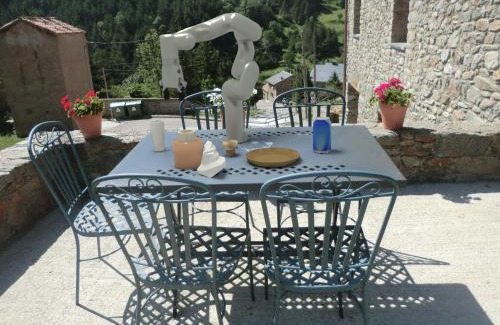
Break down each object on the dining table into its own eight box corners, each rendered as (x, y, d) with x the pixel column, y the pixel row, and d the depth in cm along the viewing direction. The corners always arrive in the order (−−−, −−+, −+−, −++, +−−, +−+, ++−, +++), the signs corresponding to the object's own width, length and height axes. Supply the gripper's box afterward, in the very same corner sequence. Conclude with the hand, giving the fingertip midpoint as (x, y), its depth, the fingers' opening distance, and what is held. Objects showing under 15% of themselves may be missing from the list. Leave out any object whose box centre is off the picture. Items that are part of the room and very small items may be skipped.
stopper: (235, 152, 204) (234, 139, 202) (240, 156, 197) (239, 142, 195) (221, 154, 201) (220, 141, 199) (225, 158, 195) (225, 144, 193)
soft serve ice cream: (194, 182, 170) (184, 148, 168) (206, 173, 184) (196, 141, 182) (223, 175, 167) (213, 140, 165) (232, 166, 181) (223, 134, 179)
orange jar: (199, 158, 196) (197, 126, 191) (207, 166, 184) (205, 132, 180) (171, 162, 192) (168, 130, 187) (177, 170, 180) (174, 136, 175)
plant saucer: (286, 151, 204) (285, 144, 203) (309, 164, 182) (309, 157, 181) (238, 157, 196) (238, 150, 195) (257, 172, 174) (257, 165, 173)
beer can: (332, 149, 201) (333, 116, 196) (328, 154, 194) (328, 120, 189) (315, 148, 205) (315, 115, 200) (310, 153, 197) (310, 119, 193)
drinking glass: (163, 152, 208) (160, 122, 204) (150, 152, 210) (147, 122, 205) (168, 148, 215) (165, 119, 210) (156, 148, 216) (153, 119, 212)
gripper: (190, 61, 191) (193, 99, 197) (163, 61, 201) (167, 97, 206) (178, 63, 186) (182, 102, 191) (151, 63, 195) (155, 100, 201)
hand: (174, 100), depth 199 cm, fingers open, 9 cm apart
